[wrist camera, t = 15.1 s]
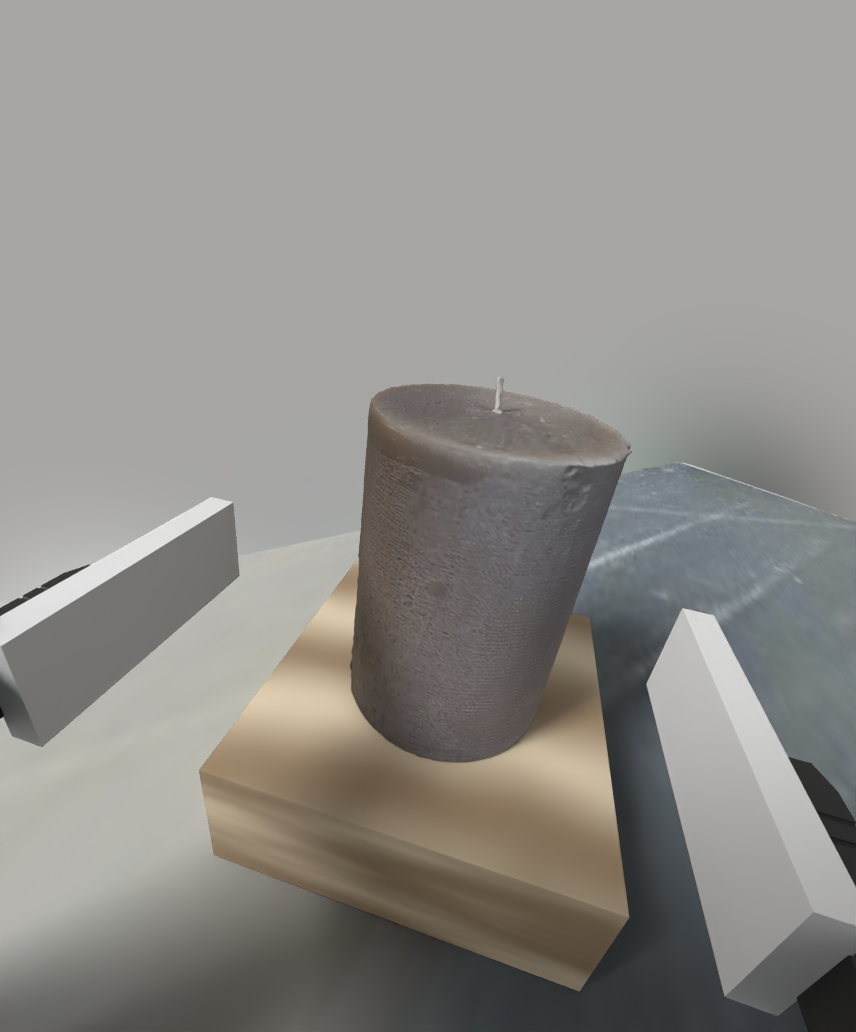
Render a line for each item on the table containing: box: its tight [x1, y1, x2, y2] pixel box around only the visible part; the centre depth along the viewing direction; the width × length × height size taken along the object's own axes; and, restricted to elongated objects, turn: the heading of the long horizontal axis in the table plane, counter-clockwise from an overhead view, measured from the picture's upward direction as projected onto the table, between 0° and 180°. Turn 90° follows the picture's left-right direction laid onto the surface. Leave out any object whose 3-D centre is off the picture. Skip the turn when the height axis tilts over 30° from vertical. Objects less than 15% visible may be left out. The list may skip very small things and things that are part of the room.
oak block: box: [199, 561, 629, 992], centre depth 24 cm, size 16×16×6 cm
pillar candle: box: [350, 376, 632, 762], centre depth 20 cm, size 10×10×15 cm
